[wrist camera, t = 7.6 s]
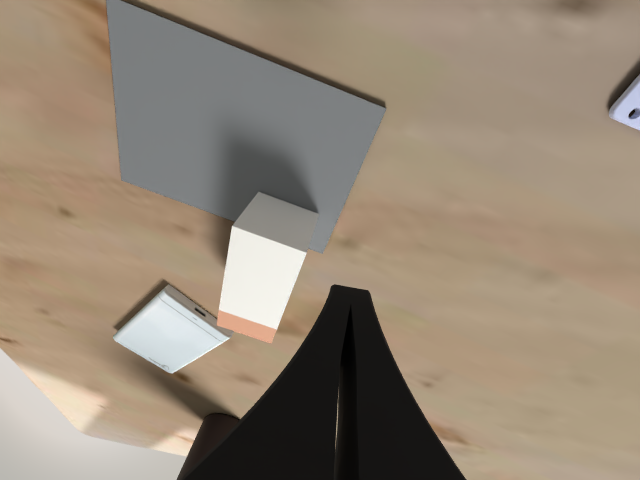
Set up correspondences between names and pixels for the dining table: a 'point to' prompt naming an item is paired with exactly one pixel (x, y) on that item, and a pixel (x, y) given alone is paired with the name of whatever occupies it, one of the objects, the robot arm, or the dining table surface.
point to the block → (263, 265)
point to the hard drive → (171, 331)
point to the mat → (230, 123)
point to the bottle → (207, 438)
